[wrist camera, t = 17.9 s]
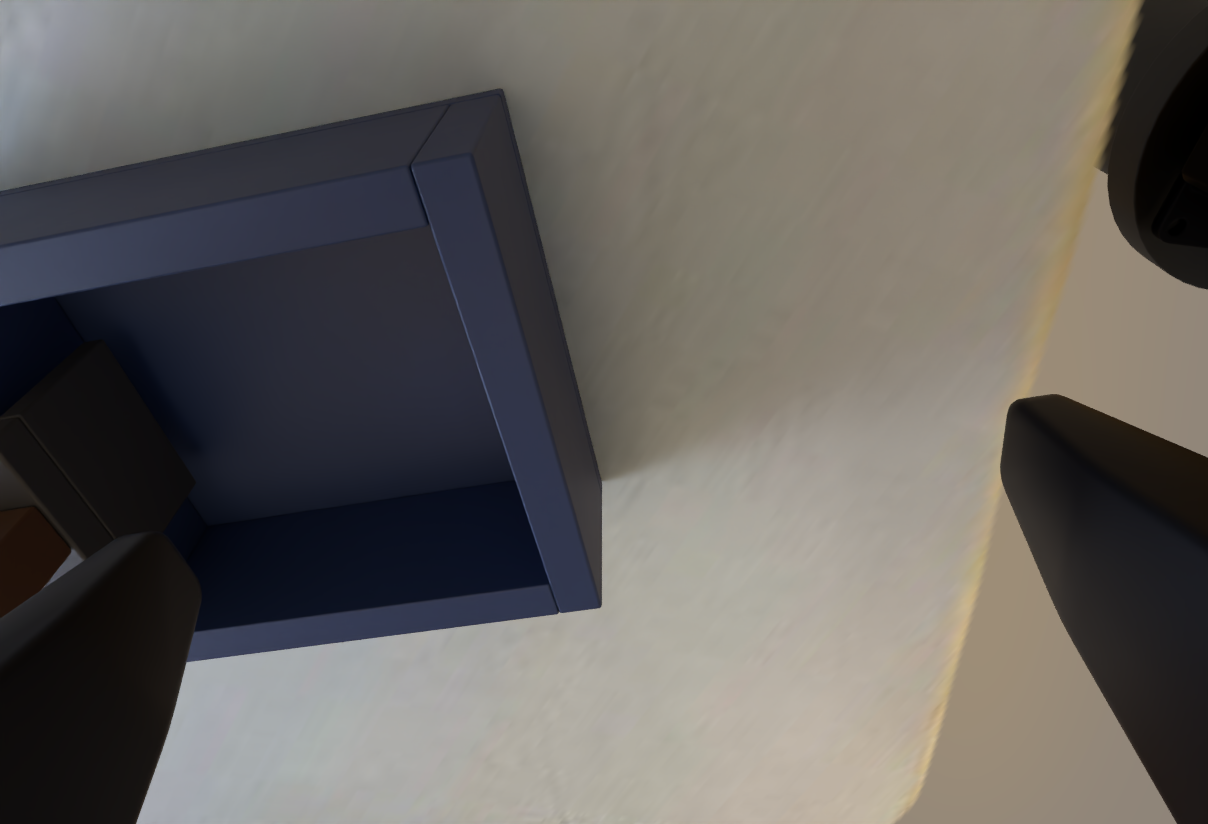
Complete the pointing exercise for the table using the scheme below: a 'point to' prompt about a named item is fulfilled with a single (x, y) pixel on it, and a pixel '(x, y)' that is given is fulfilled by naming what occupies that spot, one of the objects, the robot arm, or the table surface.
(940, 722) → the table surface
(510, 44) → the table surface
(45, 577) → the tall backed stool
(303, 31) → the table surface
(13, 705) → the robot arm
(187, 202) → the box
